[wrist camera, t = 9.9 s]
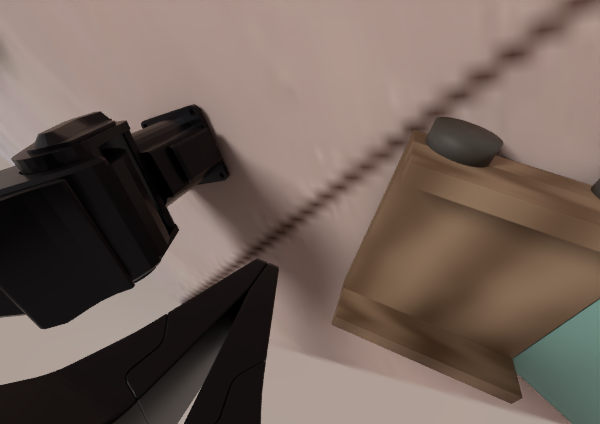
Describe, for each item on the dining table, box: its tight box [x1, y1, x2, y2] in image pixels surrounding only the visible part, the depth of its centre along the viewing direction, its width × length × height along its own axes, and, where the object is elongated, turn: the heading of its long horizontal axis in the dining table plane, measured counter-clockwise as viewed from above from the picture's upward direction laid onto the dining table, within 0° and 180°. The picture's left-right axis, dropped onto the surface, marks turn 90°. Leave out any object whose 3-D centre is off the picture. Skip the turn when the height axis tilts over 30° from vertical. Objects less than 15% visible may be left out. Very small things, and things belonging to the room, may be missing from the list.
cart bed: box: [332, 117, 600, 404], centre depth 19 cm, size 14×17×6 cm
